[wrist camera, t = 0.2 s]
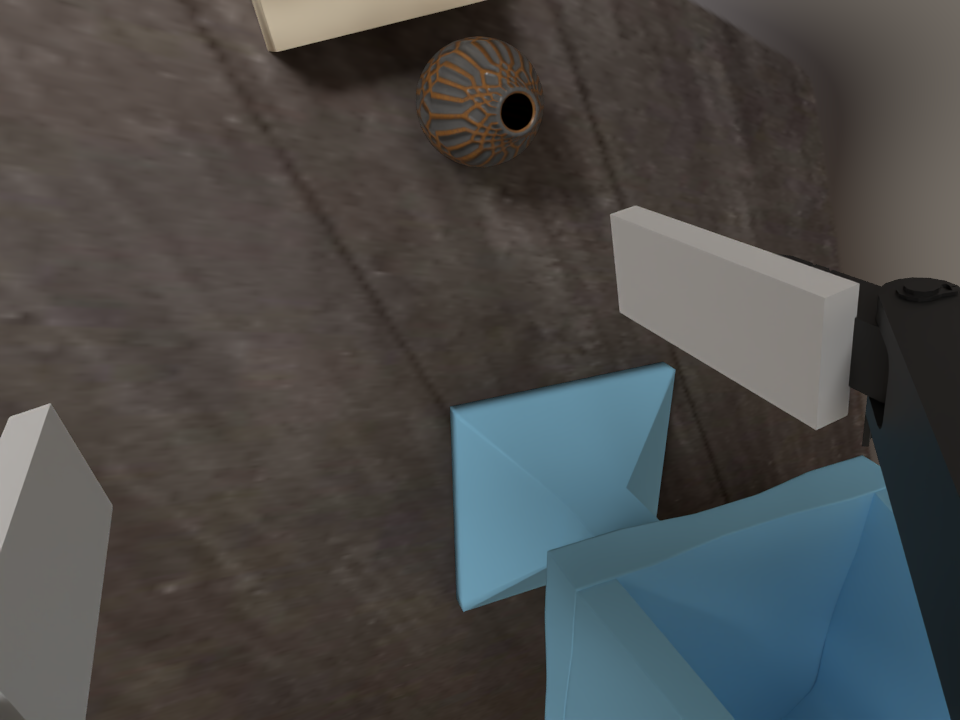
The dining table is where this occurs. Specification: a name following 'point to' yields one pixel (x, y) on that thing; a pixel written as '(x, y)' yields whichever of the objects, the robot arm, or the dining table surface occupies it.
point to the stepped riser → (336, 17)
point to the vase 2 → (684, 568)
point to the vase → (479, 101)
